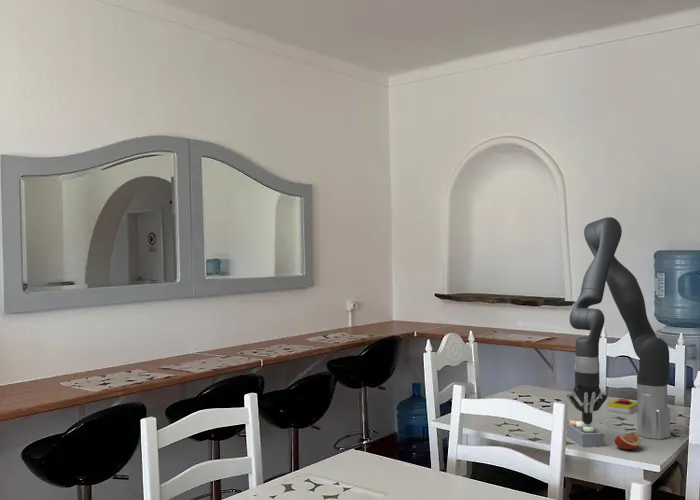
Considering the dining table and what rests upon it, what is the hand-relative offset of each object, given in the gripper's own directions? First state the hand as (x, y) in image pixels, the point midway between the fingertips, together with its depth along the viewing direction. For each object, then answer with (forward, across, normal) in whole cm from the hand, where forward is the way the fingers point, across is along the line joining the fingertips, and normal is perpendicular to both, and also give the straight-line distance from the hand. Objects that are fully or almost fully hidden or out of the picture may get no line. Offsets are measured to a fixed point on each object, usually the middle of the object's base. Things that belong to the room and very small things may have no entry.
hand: (587, 423), depth 216 cm
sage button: (+3, 0, 0) cm, 3 cm away
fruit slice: (+6, +10, -7) cm, 14 cm away
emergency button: (+7, +32, +41) cm, 53 cm away
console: (+6, 0, +5) cm, 8 cm away
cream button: (+3, 0, +5) cm, 6 cm away
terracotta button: (+4, 0, +11) cm, 11 cm away
